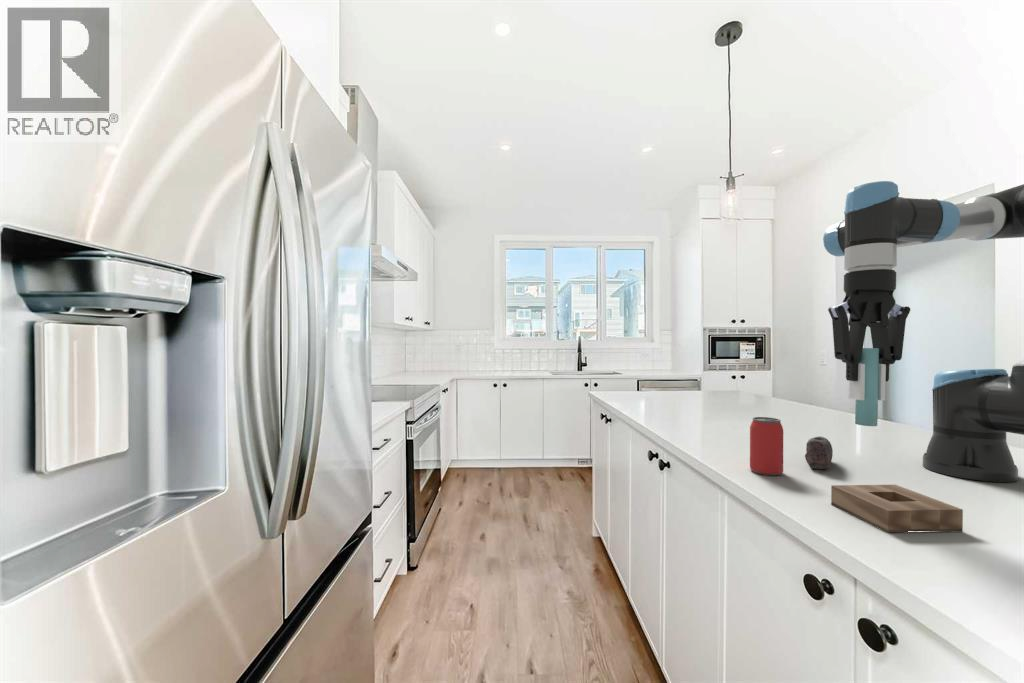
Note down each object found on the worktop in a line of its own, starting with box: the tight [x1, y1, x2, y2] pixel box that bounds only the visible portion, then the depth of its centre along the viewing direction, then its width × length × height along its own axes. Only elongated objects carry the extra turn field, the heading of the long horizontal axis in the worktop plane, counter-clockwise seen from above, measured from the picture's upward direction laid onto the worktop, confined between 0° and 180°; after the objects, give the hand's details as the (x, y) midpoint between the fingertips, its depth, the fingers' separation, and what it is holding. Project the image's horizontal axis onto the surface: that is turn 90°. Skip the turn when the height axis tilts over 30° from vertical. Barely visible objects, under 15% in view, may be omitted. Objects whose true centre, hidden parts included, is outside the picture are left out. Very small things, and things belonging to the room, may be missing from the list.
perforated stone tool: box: [804, 436, 834, 470], centre depth 108 cm, size 15×5×7 cm, turn 141°
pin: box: [854, 347, 879, 427], centre depth 83 cm, size 3×3×14 cm
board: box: [830, 484, 964, 533], centre depth 77 cm, size 12×12×4 cm
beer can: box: [749, 416, 784, 477], centre depth 103 cm, size 7×7×12 cm
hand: (866, 399), depth 83 cm, fingers closed on pin, 3 cm apart
